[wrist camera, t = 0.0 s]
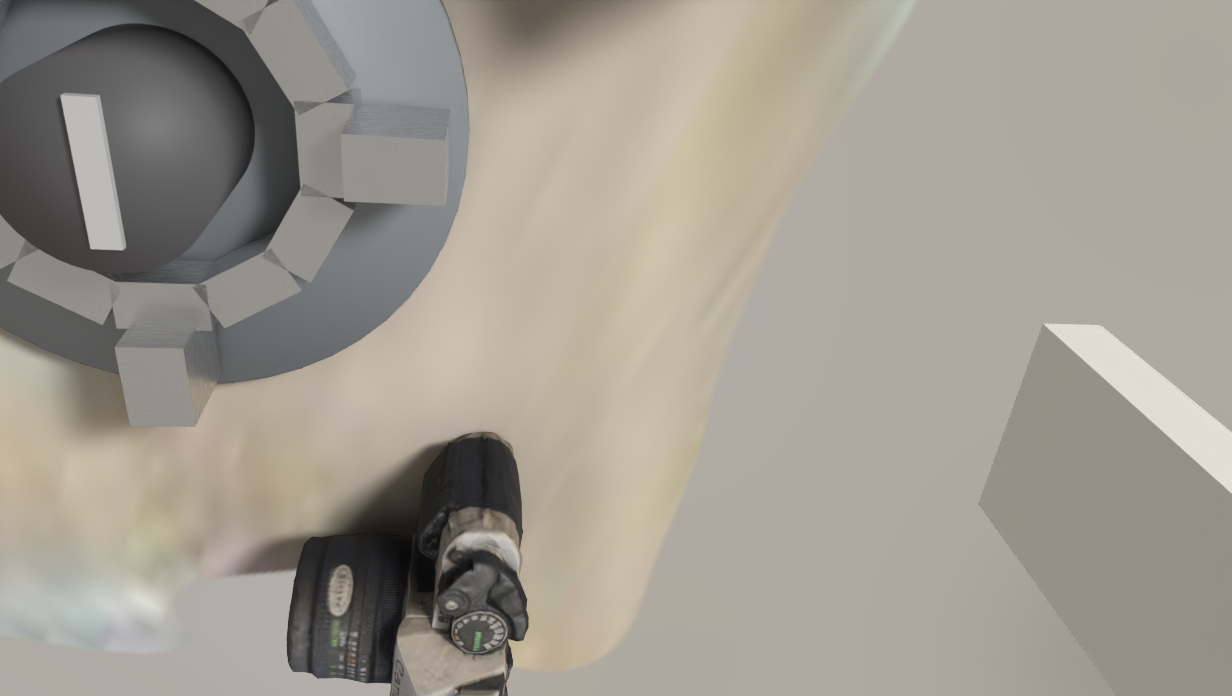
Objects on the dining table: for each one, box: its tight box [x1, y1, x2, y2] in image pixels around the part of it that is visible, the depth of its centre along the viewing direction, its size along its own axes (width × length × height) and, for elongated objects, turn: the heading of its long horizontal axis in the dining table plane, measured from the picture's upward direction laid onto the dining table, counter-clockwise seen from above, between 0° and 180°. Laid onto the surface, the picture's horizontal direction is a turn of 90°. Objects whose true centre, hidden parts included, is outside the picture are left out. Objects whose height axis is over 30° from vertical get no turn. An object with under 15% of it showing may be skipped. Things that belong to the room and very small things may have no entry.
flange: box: [0, 0, 469, 383], centre depth 32 cm, size 23×23×8 cm
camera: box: [287, 432, 528, 696], centre depth 43 cm, size 16×10×10 cm, turn 170°
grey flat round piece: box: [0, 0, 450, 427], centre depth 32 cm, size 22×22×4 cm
